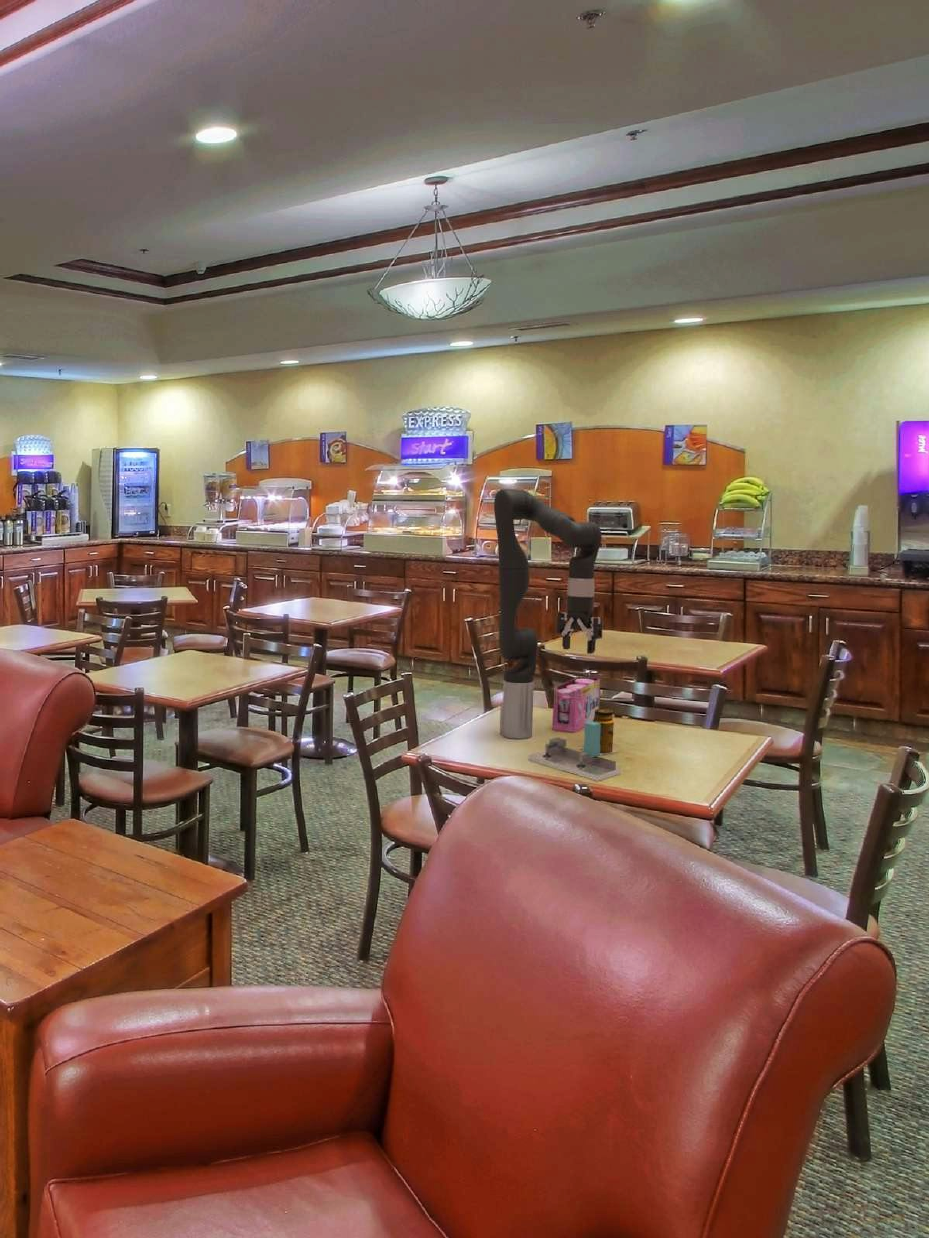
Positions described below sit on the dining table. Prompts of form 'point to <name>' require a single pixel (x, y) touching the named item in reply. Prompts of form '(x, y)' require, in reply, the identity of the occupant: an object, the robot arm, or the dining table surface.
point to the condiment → (605, 730)
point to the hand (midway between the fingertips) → (578, 651)
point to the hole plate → (574, 761)
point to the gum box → (575, 703)
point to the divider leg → (591, 741)
